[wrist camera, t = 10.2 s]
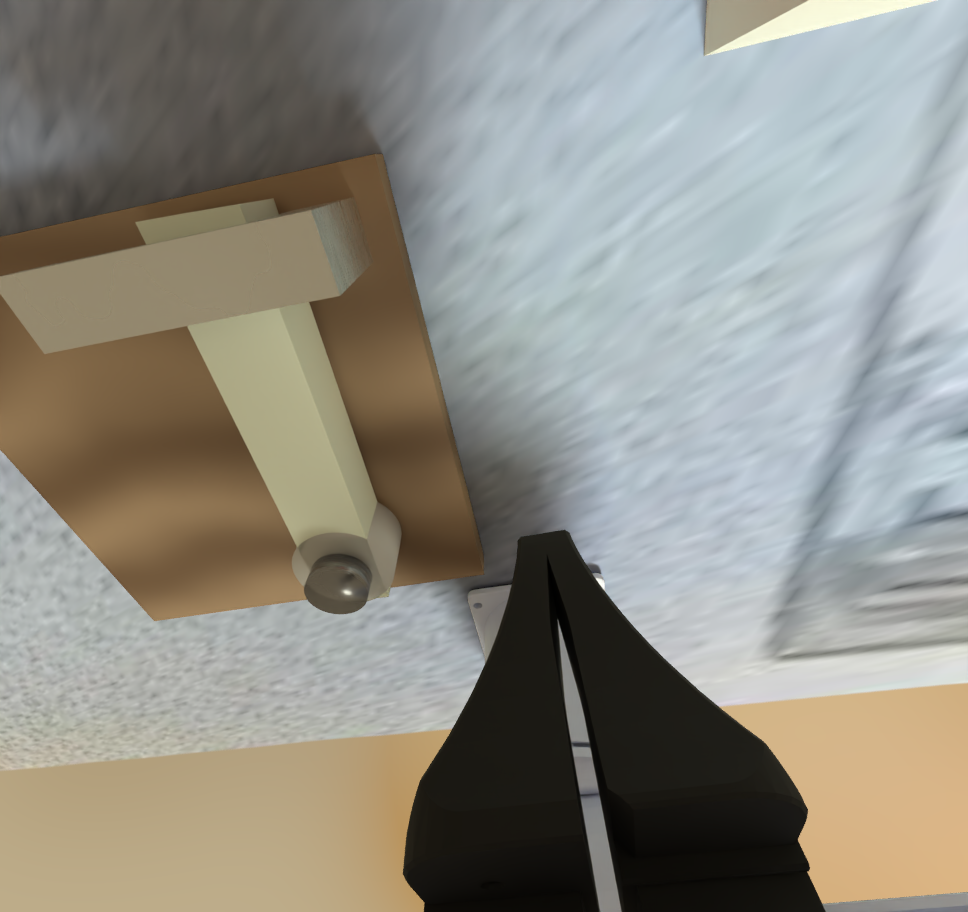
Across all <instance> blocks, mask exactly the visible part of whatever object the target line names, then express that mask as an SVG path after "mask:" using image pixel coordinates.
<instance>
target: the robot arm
mask: <svg viewBox="0 0 968 912" xmlns="http://www.w3.org/2000/svg"><path fill="white" fill-rule="evenodd" d="M468 603H469V606H470V609H471V613H472V616H473V619H474V623H475V626H476V629H477V633H478V636H479V639H480V643H481V646H482V649H483V653H484V656H485V666H484V668H483V670H482V672H481V675H480V677H479V679H478V681H477V683H476V685H475V688H474V690H473V692H472V694H471V696H470V698H469V700H468V702H467V703H466V705H465V707H464V709H463V711H462V712H461V714H460V716H459V718H458V720H457V721H456V723H455V725H454V727H453V729H452V731H451V732H450V734H449V736H448V737H447V739H446V741H445V742H444V744H443V746H442V747H441V749H440V750H439V752H438V753H437V755H436V756H435V758H434V760H433V761H432V763H431V764H430V766H429V768H428V769H427V771H426V772H425V774H424V775H423V777H422V779H421V780H420V783H419V786H418V789H417V792H416V796H415V799H414V803H413V807H412V811H411V815H410V821H409V826H408V830H407V837H406V847H405V857H404V869H403V875H404V877H405V879H406V881H407V883H408V884H409V885H410V887H411V888H412V889H413V890H414V891H415V892H416V893H417V894H418V896H419V897H420V898H421V899H422V900H423V901H424V902H425V904H424V912H968V892H963V893H950V894H938V895H926V896H914V897H901V898H888V899H876V900H864V901H852V902H839V903H827V904H822V903H821V900H820V898H819V896H818V894H817V892H816V890H815V888H814V885H813V883H812V881H811V879H810V877H809V875H808V873H807V871H809V869H810V867H809V863H808V861H807V859H806V857H805V855H804V852H803V851H802V848H801V846H800V844H799V842H798V837H799V835H800V833H801V831H802V829H803V826H804V824H805V822H806V819H807V813H808V809H807V807H806V805H805V803H804V801H803V799H802V797H801V795H800V793H799V792H798V789H797V788H796V786H795V785H794V783H793V781H792V780H791V778H790V777H789V775H788V774H787V772H786V771H785V769H784V768H783V767H782V765H781V764H780V762H779V761H778V759H777V758H776V757H775V755H774V754H773V753H772V752H771V750H770V749H769V747H768V746H767V745H766V744H765V743H764V742H763V741H762V740H761V739H759V738H758V737H757V736H755V735H754V734H753V733H751V732H750V731H749V730H747V729H746V728H745V727H743V726H742V725H741V724H739V723H738V722H737V721H736V720H734V719H733V718H732V717H731V716H729V715H728V714H727V713H726V712H724V711H723V710H722V709H721V708H719V707H718V706H717V705H716V704H715V703H713V702H712V701H711V700H710V699H709V698H707V697H706V696H705V695H704V694H703V693H701V692H700V691H699V690H698V689H697V688H696V687H695V686H694V685H692V684H691V683H690V682H689V681H688V680H687V679H686V678H685V677H684V676H683V675H681V674H680V673H679V672H678V671H677V670H676V669H675V668H674V667H673V666H672V665H671V664H669V663H668V662H667V661H666V660H665V659H664V658H663V657H662V656H661V655H660V654H659V653H658V652H657V651H656V650H655V649H654V648H653V647H652V646H651V645H650V644H649V643H648V642H647V641H646V639H645V638H644V637H643V636H642V635H641V634H640V633H639V632H638V631H637V630H636V629H635V628H634V626H633V625H632V624H631V623H630V622H629V621H628V620H627V618H626V617H625V616H624V615H623V614H622V612H621V611H620V610H619V609H618V608H617V606H616V605H615V604H614V603H613V601H612V600H611V599H610V598H609V596H608V595H607V594H606V592H605V582H604V579H603V576H602V575H601V574H599V573H591V571H590V570H589V568H588V567H587V565H586V563H585V562H584V560H583V559H582V557H581V555H580V554H579V552H578V550H577V548H576V546H575V544H574V542H573V540H572V538H571V536H570V533H569V532H567V531H566V530H561V531H555V532H549V533H543V534H536V535H530V536H524V537H521V538H520V539H519V540H518V549H517V559H516V566H515V571H514V577H513V581H512V585H505V586H498V587H490V588H483V589H476V590H472V591H470V592H469V593H468Z"/></svg>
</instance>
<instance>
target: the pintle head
mask: <svg viewBox="0 0 968 912" xmlns="http://www.w3.org/2000/svg"><path fill="white" fill-rule="evenodd" d="M371 583H372V573H371V570H370V569H369V567H368V566H367V565H366V564H365V563H364V562H363V561H361V560H360V559H358V558H356V557H353V556H350V555H346V554H329V555H325V556H323V557H320V558H319V559H317V560H316V561H315V562H314V564H313V566H312V568H311V570H310V573H309V575H308V578H307V580H306V583H305V586H304V594H305V596H306V598H307V600H308V601H309V602H310V603H311V604H312V605H313V606H315V607H316V608H318V609H320V610H322V611H325V612H328V613H333V614H348V613H352V612H355V611H358V610H359V609H361V608H362V607H363V606H364V605H365V604H366V602H367V599H368V595H369V591H370V587H371Z"/></svg>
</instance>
